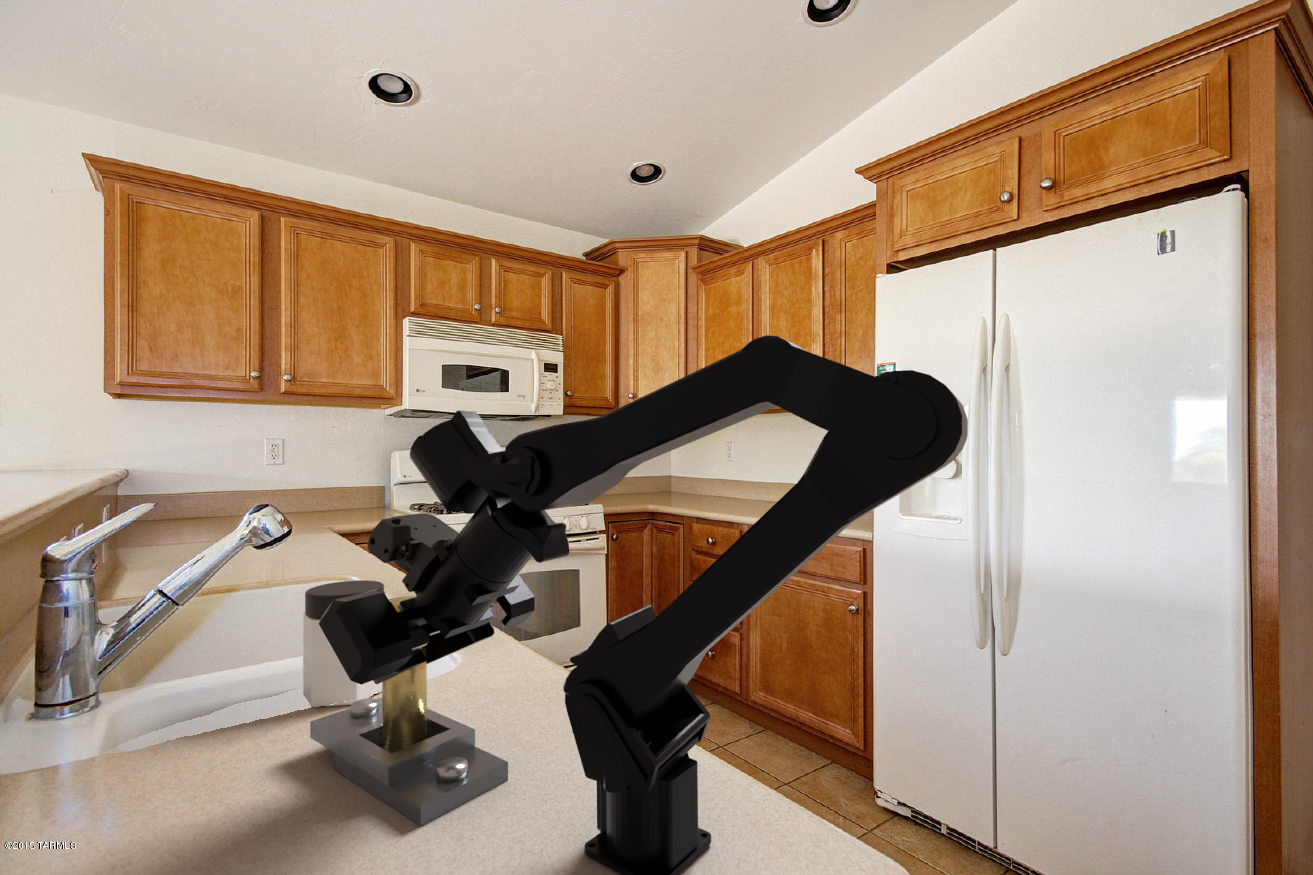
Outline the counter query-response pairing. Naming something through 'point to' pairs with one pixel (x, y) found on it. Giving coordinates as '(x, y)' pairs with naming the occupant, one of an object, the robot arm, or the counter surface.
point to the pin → (405, 704)
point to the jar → (330, 649)
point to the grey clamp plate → (409, 761)
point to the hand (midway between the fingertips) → (394, 671)
